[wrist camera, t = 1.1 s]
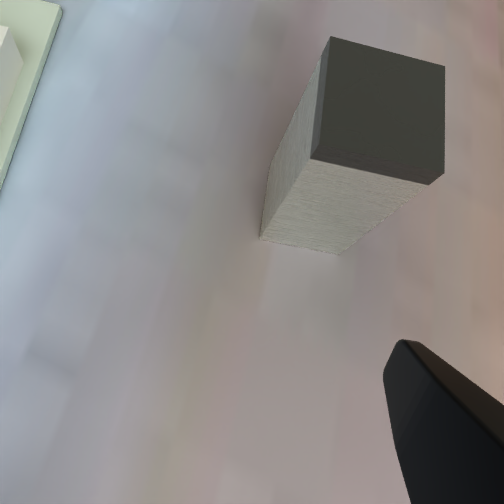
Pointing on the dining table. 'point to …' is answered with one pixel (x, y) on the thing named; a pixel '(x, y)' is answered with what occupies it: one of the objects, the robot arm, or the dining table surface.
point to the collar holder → (21, 64)
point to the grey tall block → (355, 147)
